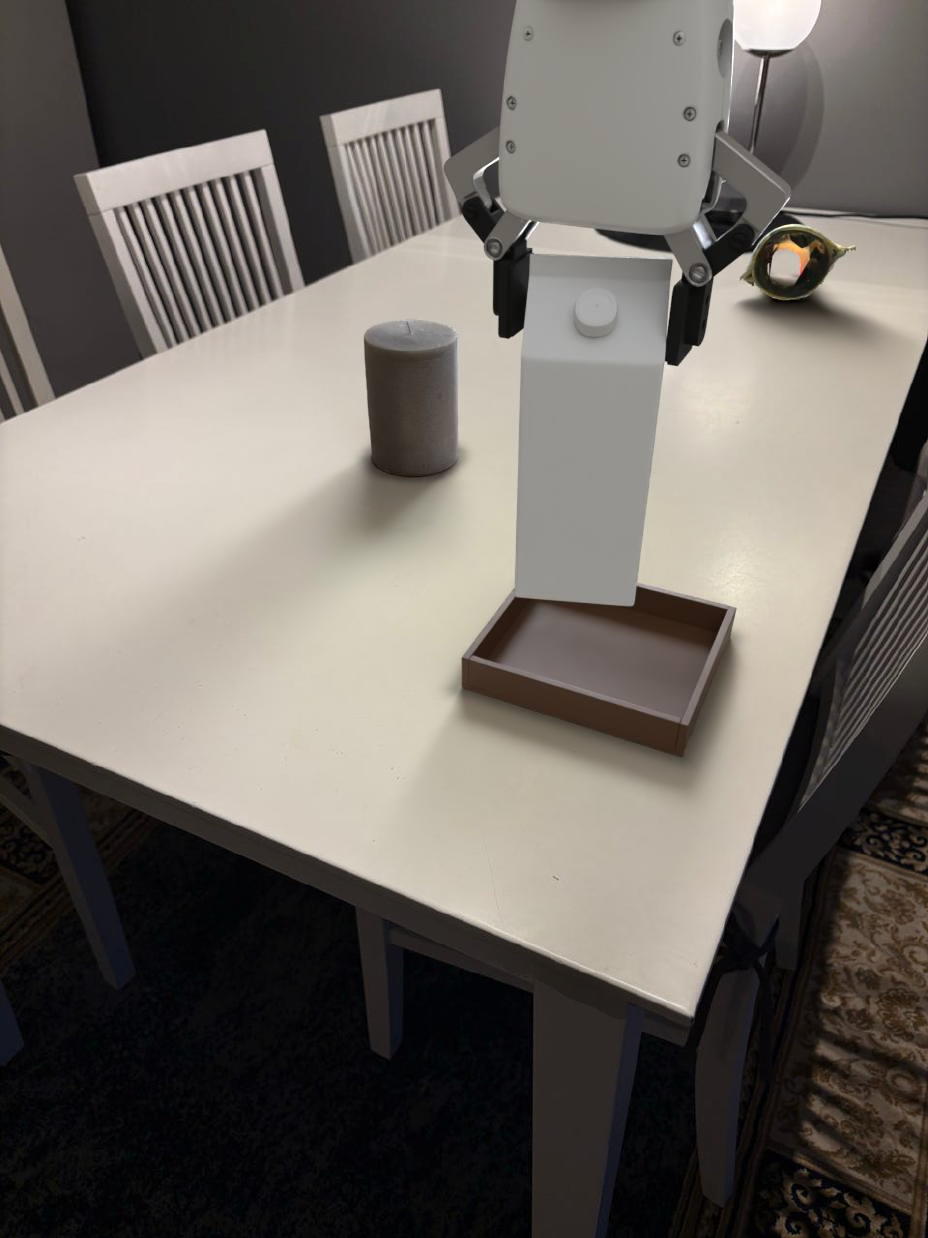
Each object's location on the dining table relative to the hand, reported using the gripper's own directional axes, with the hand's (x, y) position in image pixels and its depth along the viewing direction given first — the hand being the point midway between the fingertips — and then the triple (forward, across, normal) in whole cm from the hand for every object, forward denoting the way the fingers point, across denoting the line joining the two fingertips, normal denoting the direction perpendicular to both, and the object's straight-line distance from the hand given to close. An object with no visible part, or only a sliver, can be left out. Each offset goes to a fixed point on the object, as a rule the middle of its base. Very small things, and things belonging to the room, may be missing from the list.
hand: (594, 342), depth 48 cm
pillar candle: (+29, +31, -34) cm, 54 cm away
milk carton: (+15, 0, 0) cm, 15 cm away
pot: (+29, +5, -110) cm, 114 cm away
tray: (+29, 0, -9) cm, 30 cm away
